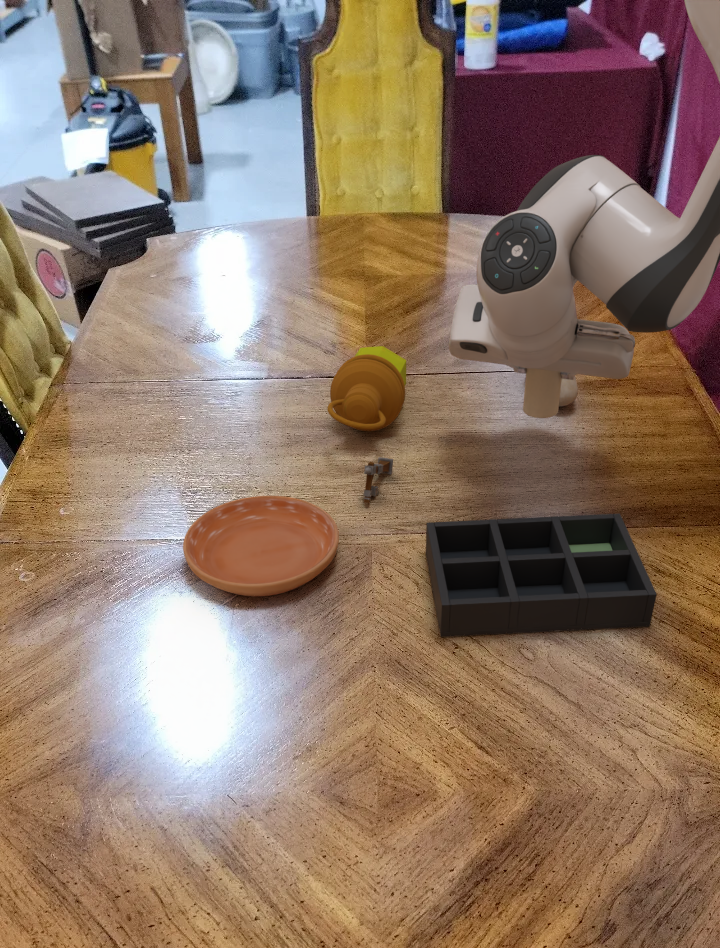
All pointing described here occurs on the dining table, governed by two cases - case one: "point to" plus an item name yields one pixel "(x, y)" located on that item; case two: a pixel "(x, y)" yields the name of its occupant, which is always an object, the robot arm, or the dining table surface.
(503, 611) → the grid
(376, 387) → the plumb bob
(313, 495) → the dining table surface
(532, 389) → the cylinder
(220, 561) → the saucer
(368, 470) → the wooden post with brackets
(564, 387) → the stone
